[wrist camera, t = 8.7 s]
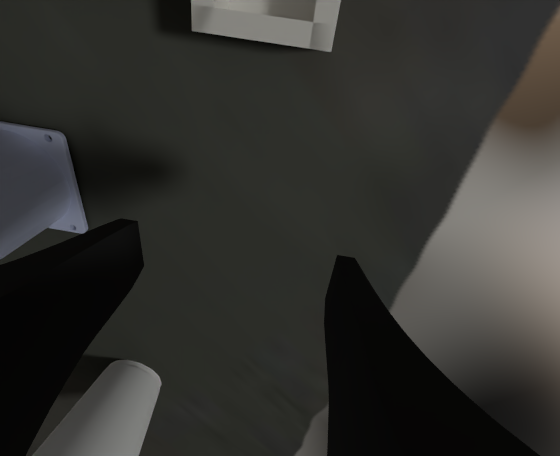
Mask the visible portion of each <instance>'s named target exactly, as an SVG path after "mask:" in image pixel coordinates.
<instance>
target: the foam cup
mask: <svg viewBox="0 0 560 456" xmlns="http://www.w3.org/2000/svg"><path fill="white" fill-rule="evenodd" d="M160 386H161V380H160V377H159V376H158V375H157V374H156V373H155V372H154V371H153V370H152V369H151V368H149V367H147V366H145V365H143V364H141V363H138V362H134V361H131V360H116V361H114V362H113V363H111V364H109V366H108V367H107V368H106V369H105V370H104V371H103V372H102V373H101V375H100V376H99V377H98V378H97V379H96V381H95V382H94V383H93V384H92V385H91V386H90V388H89V389H88V390H87V391H86V392H85V394H84V395H83V396H82V397H81V398H80V400H79V401H78V402H77V403H76V404H75V405H74V407H73V408H72V409H71V410H70V411H69V413H68V414H67V415H66V416H65V417H64V419H63V420H62V421H61V422H60V423H59V424H58V426H57V427H56V428H55V429H54V430H53V432H52V433H51V434H50V435H49V436H48V438H47V439H46V440H45V441H44V442H43V443H42V445H41V446H40V447H39V448H38V449H37V451H36V452H35V453H34V454H33V455H32V456H139V453H140V450H141V447H142V443H143V440H144V437H145V434H146V431H147V428H148V425H149V422H150V419H151V416H152V413H153V409H154V406H155V403H156V400H157V397H158V394H159V391H160Z"/></svg>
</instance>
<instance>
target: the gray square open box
mask: <svg viewBox="0 0 560 456" xmlns="http://www.w3.org/2000/svg"><path fill="white" fill-rule="evenodd" d="M340 2H341V0H191V15H192V31H195V32H202V33H209V34H215V35H222V36H229V37H235V38H242V39H248V40H255V41H262V42H268V43H275V44H281V45H288V46H295V47H301V48H308V49H314V50H321V51H328V52H331V50H332V45H333V39H334V34H335V29H336V23H337V18H338V13H339V7H340Z"/></svg>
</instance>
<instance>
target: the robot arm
mask: <svg viewBox="0 0 560 456" xmlns="http://www.w3.org/2000/svg"><path fill="white" fill-rule="evenodd" d="M49 136H50V137H51V138H52V140H51V139H50V138H49ZM46 228H52V229H58V230H64V231H69V232H75V233H82V234H81V235H78V236H76V237H73V238H71V239H69V240H66V241H64V242H62V243H59V244H57V245H54V246H51V247H49V248H46V249H43V250H41V251H38V252H36V253H33V254H30V255H28V256H25V257H23V258H20V259H17V260H14V261H11V262H8V263H5V264H2V265H0V456H26V454H27V452H28V450H29V448H30V446H31V444H32V442H33V440H34V438H35V436H36V434H37V433H38V431H39V429H40V427H41V425H42V423H43V421H44V419H45V418H46V416H47V414H48V412H49V410H50V408H51V407H52V405H53V403H54V401H55V400H56V398H57V396H58V395H59V393H60V391H61V389H62V388H63V386H64V384H65V382H66V381H67V379H68V377H69V376H70V374H71V373H72V371H73V369H74V368H75V366H76V364H77V363H78V361H79V360H80V358H81V356H82V355H83V353H84V352H85V350H86V349H87V347H88V346H89V344H90V343H91V342H92V340H93V339H94V338H95V336H96V335H97V334H98V332H99V331H100V330H101V328H102V327H103V326H104V325H105V323H106V322H107V321H108V319H109V318H110V317H111V315H112V314H113V313H114V311H115V310H116V309H117V308H118V306H119V305H120V304H121V302H122V301H123V299H124V298H125V297H126V295H127V294H128V293H129V291H130V290H131V289H132V287H133V285H134V283H135V282H136V280H137V278H138V276H139V274H140V273H141V271H142V269H143V267H144V262H143V255H142V248H141V241H140V234H139V228H138V221H133V220H127V219H118V220H115V221H112V222H110V223H107V224H105V225H102V226H100V227H97V228H95V229H92V230H90V231H88V232H86V231H87V230H88V225H87V221H86V217H85V213H84V209H83V205H82V201H81V197H80V193H79V189H78V185H77V181H76V177H75V173H74V168H73V164H72V160H71V156H70V152H69V148H68V144H67V140H66V137H65V136H64V134H63V133H61V132H60V131H57V130H51V129H45V128H39V127H32V126H26V125H20V124H14V123H8V122H2V121H0V260H1V259H2V258H4V257H5V256H6V255H8V254H9V253H11V252H12V251H14V250H15V249H17V248H18V247H20V246H21V245H23V244H24V243H25V242H27V241H28V240H30V239H31V238H33V237H34V236H36V235H37V234H39V233H40V232H42V231H43V230H45V229H46ZM324 328H325V343H326V357H327V371H328V385H329V417H328V452H327V453H328V454H327V456H540V455H538V454H537V453H536V452H535V451H533V450H532V449H531V448H530V447H528V446H527V445H526V444H524V443H523V442H522V441H520V440H519V439H518V438H517V437H515V436H514V435H513V434H512V433H510V432H509V431H508V430H506V429H505V428H504V427H503V426H501V425H500V424H499V423H498V422H496V421H495V420H494V419H493V418H491V417H490V416H489V415H488V414H487V413H486V412H485V411H483V410H482V409H481V408H480V407H479V406H478V405H477V404H475V403H474V402H473V401H472V400H471V399H469V397H467V396H466V395H465V394H464V393H463V392H462V391H461V390H460V389H458V387H457V386H455V385H454V384H453V383H452V382H451V381H450V380H449V379H448V378H447V377H446V376H445V375H444V374H443V373H442V372H441V371H440V370H439V369H438V368H437V367H436V366H435V365H434V364H433V363H432V362H431V361H430V360H429V359H428V358H427V357H426V356H425V355H424V354H423V352H422V351H421V350H420V349H419V348H418V347H417V346H416V345H415V343H414V342H413V341H412V340H411V339H410V338H409V337H408V336H407V334H406V333H405V332H404V331H403V329H402V328H401V327H400V326H399V324H398V323H397V322H396V320H395V319H394V318H393V316H392V315H391V314H390V312H389V311H388V310H387V308H386V307H385V305H384V304H383V302H382V301H381V299H380V298H379V296H378V295H377V293H376V292H375V290H374V289H373V287H372V286H371V284H370V282H369V281H368V279H367V277H366V276H365V274H364V272H363V271H362V269H361V267H360V266H359V264H358V262H357V261H356V259H355V258H352V257H346V256H340V255H337V258H336V261H335V265H334V269H333V272H332V276H331V279H330V283H329V287H328V290H327V294H326V297H325V316H324Z"/></svg>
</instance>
